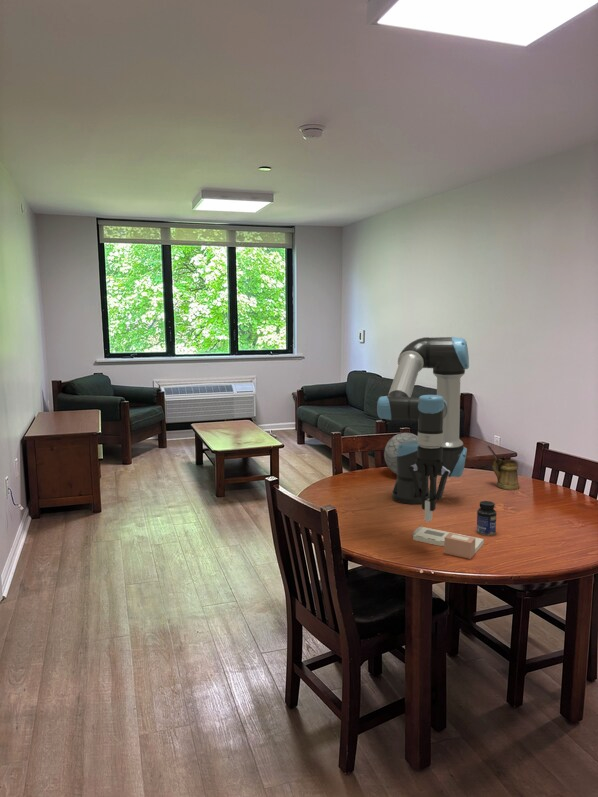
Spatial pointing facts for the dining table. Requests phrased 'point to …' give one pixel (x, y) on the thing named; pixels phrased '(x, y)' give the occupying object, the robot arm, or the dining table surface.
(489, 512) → the pill bottle
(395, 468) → the decorative sphere
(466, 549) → the stub
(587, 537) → the dining table surface
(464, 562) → the dining table surface
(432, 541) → the white grooved bar
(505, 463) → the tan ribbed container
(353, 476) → the dining table surface
